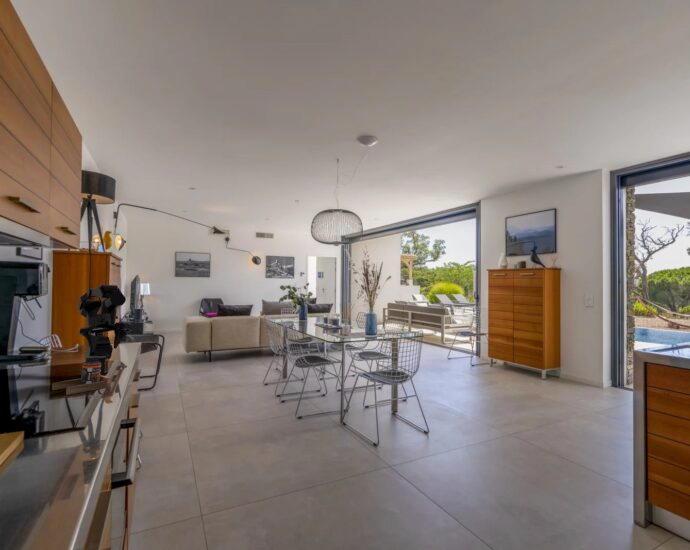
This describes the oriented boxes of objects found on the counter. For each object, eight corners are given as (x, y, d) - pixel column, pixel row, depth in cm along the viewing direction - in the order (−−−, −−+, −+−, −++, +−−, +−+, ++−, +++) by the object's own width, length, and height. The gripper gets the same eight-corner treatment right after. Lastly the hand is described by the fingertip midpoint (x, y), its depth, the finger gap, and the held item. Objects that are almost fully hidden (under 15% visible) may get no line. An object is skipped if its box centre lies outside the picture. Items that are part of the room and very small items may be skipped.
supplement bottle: (92, 389, 135) (94, 358, 135) (76, 388, 135) (78, 357, 135) (103, 385, 140) (105, 355, 141) (88, 384, 141) (90, 354, 141)
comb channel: (51, 390, 131) (52, 380, 131) (94, 382, 144) (95, 373, 144) (66, 395, 126) (67, 384, 126) (109, 386, 139) (110, 377, 139)
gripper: (71, 310, 145) (65, 349, 139) (118, 303, 145) (113, 342, 139) (91, 318, 155) (86, 355, 149) (134, 312, 155) (131, 348, 149)
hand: (103, 350), depth 146 cm, fingers open, 9 cm apart
